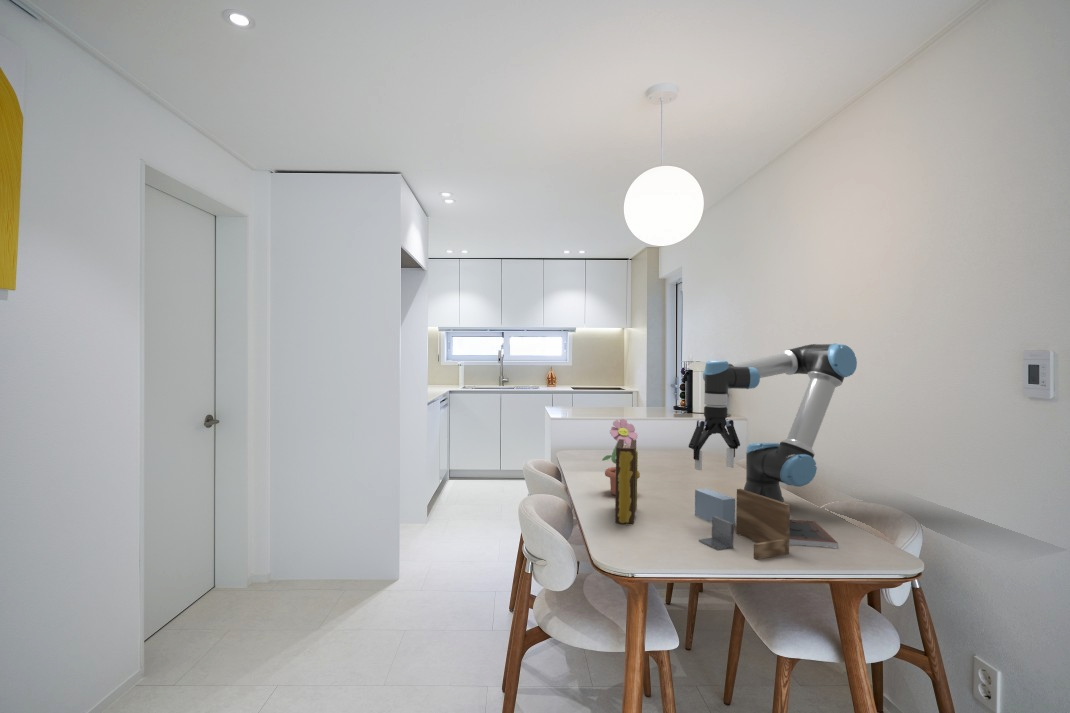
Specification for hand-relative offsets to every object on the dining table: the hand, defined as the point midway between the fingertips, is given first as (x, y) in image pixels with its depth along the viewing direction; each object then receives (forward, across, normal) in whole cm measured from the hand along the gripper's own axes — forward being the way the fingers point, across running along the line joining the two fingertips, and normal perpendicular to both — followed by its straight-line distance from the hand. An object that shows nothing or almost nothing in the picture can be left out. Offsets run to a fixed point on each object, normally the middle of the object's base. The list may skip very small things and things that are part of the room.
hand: (714, 468), depth 186 cm
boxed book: (+18, 0, 0) cm, 18 cm away
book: (+18, +25, -16) cm, 34 cm away
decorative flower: (+18, +12, -40) cm, 45 cm away
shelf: (+18, +8, +23) cm, 30 cm away
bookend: (+18, +16, +19) cm, 30 cm away
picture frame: (+18, -15, +21) cm, 32 cm away
